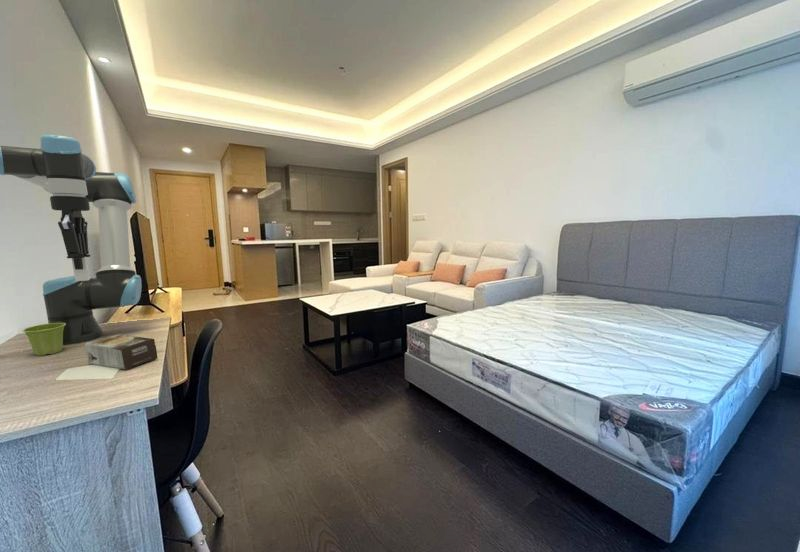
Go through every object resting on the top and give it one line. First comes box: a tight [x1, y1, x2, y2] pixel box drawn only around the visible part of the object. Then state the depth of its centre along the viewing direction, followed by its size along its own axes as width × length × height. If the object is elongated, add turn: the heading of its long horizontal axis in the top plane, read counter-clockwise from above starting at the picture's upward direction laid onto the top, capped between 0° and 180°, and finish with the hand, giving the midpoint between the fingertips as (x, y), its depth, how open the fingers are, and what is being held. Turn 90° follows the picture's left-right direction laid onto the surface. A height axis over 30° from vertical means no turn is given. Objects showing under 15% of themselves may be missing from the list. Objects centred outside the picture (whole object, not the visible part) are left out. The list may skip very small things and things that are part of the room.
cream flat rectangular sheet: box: [55, 364, 121, 381], centre depth 87 cm, size 18×13×1 cm
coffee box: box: [84, 334, 158, 370], centre depth 97 cm, size 9×6×16 cm
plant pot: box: [22, 323, 66, 357], centre depth 105 cm, size 9×9×9 cm
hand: (82, 280), depth 93 cm, fingers closed
